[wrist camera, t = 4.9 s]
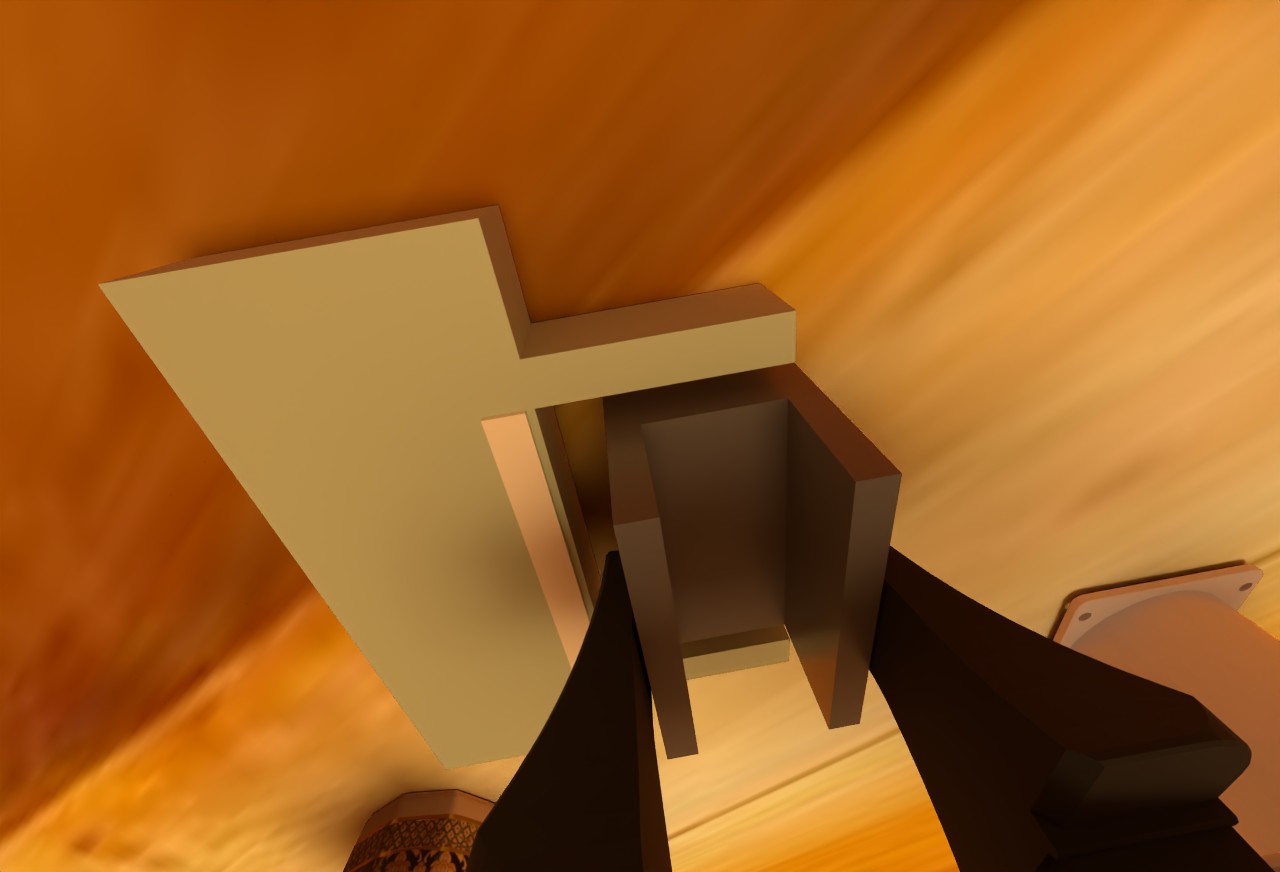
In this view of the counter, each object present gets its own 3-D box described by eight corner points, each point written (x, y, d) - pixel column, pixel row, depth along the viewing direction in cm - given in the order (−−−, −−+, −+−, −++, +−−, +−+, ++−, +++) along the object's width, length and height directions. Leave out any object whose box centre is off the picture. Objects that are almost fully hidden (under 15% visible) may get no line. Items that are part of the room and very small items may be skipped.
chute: (784, 567, 17) (859, 723, 12) (644, 593, 17) (667, 759, 12) (787, 356, 13) (901, 473, 8) (602, 389, 13) (613, 525, 8)
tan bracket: (766, 647, 20) (789, 709, 18) (460, 704, 20) (445, 774, 18) (758, 159, 11) (802, 162, 9) (192, 257, 11) (90, 286, 9)
